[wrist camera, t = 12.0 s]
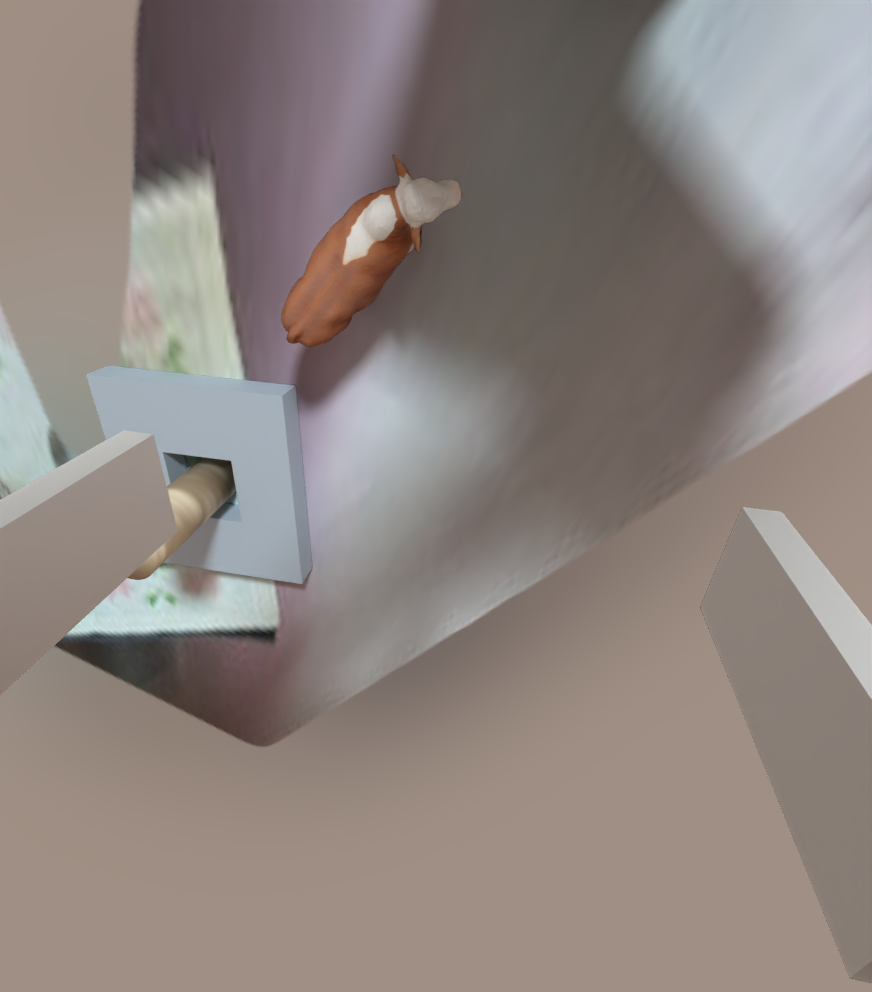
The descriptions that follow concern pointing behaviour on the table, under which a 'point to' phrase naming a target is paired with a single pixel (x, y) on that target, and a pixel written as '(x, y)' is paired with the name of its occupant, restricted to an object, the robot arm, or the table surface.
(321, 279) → the bull figurine
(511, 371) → the table surface
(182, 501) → the peg
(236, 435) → the socket board
